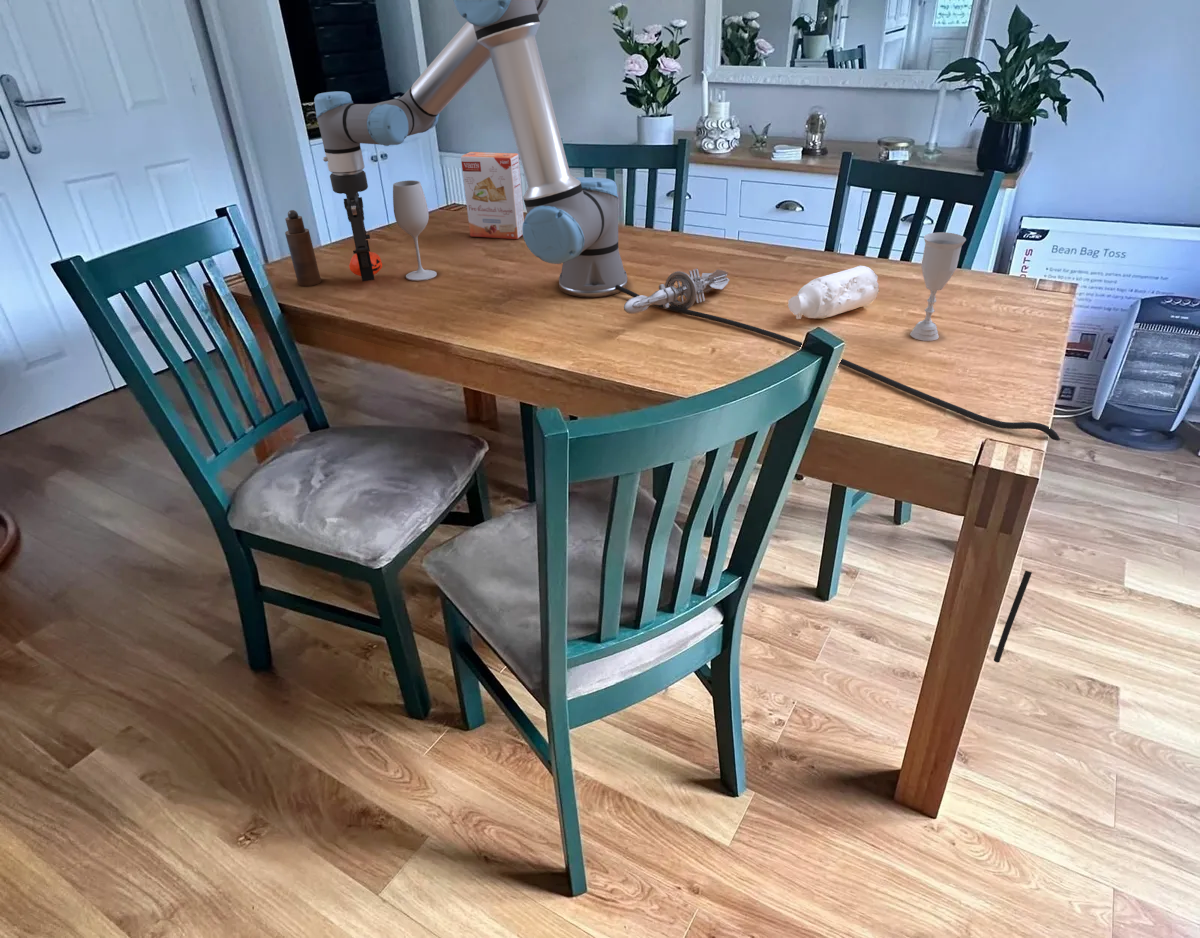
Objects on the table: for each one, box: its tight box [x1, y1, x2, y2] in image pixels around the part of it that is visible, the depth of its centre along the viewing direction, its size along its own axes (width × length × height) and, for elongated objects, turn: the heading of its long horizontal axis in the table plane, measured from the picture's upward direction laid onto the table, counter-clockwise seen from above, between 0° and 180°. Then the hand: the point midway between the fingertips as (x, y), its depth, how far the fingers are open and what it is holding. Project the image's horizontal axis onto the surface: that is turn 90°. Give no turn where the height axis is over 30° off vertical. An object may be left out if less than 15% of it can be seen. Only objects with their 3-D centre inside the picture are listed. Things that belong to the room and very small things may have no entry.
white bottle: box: [787, 265, 880, 320], centre depth 150 cm, size 8×19×8 cm, turn 121°
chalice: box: [909, 231, 967, 342], centre depth 138 cm, size 7×7×18 cm
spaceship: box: [623, 268, 730, 315], centre depth 155 cm, size 8×35×8 cm
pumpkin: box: [348, 250, 383, 277], centre depth 177 cm, size 7×8×6 cm
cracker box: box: [460, 151, 525, 240], centre depth 202 cm, size 14×6×21 cm, turn 73°
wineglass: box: [392, 179, 438, 282], centre depth 176 cm, size 8×8×21 cm
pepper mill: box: [284, 209, 322, 287], centre depth 176 cm, size 5×5×17 cm
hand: (367, 274), depth 178 cm, fingers closed on pumpkin, 8 cm apart
